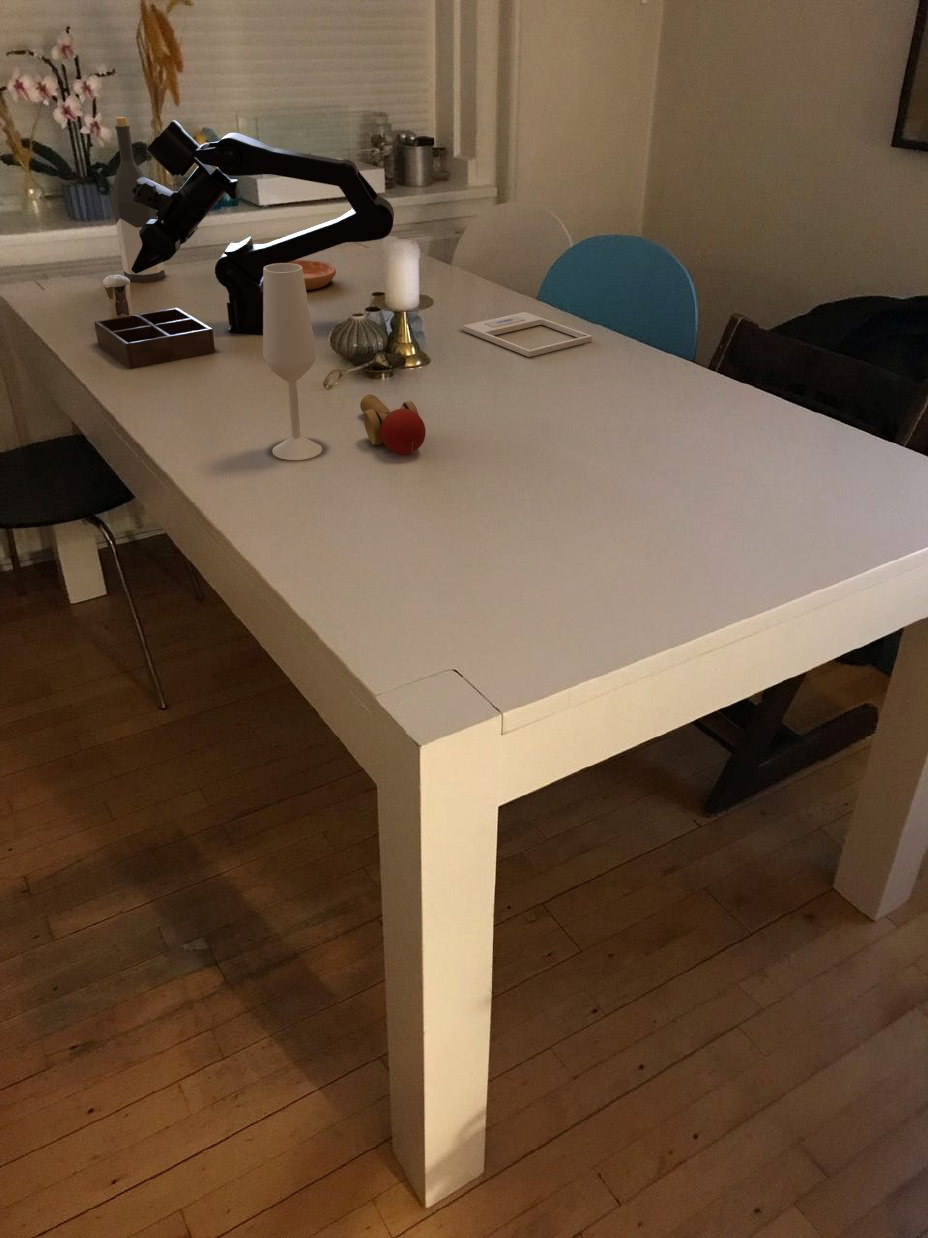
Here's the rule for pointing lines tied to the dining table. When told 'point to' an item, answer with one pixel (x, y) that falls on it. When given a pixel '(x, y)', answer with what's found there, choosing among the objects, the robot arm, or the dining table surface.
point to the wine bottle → (130, 209)
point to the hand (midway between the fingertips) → (140, 264)
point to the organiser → (154, 337)
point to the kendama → (393, 425)
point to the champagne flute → (288, 345)
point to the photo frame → (519, 322)
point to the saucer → (316, 273)
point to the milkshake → (118, 295)
